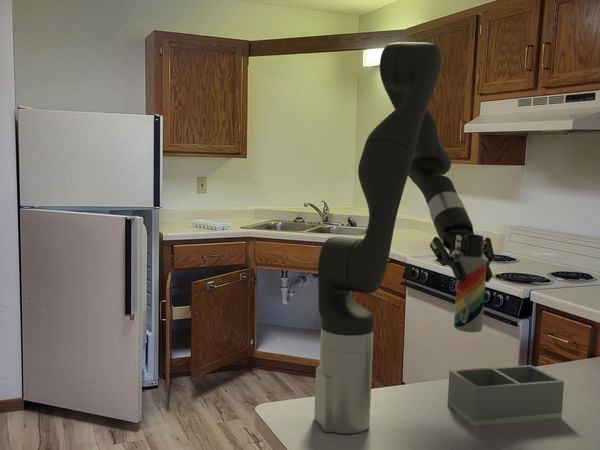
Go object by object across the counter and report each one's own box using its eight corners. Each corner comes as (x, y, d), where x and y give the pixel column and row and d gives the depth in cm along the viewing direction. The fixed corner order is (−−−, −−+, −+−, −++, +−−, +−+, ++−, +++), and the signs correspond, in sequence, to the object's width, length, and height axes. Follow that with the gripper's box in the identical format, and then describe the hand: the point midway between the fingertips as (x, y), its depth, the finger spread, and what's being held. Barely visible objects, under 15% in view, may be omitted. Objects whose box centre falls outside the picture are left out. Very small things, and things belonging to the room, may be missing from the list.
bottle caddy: (474, 426, 105) (476, 388, 105) (447, 405, 114) (449, 370, 114) (561, 417, 110) (564, 381, 110) (528, 398, 119) (531, 365, 119)
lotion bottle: (450, 329, 121) (456, 233, 120) (457, 324, 126) (462, 231, 125) (479, 334, 119) (485, 235, 117) (484, 328, 124) (490, 233, 122)
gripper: (426, 205, 126) (452, 269, 115) (485, 206, 129) (515, 269, 119) (414, 227, 131) (437, 291, 121) (471, 228, 135) (498, 289, 125)
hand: (475, 279), depth 120 cm, fingers closed on lotion bottle, 5 cm apart
